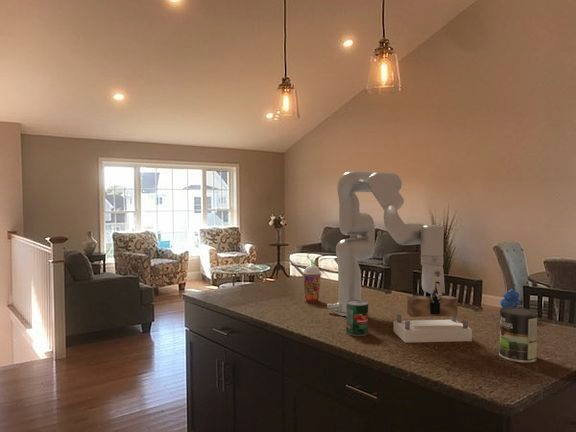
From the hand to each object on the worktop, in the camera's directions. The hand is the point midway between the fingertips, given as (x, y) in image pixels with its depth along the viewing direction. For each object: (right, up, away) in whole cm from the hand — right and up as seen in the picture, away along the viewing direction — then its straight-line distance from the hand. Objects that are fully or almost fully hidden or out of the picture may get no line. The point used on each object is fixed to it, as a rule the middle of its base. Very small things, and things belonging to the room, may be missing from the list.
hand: (431, 311), depth 161 cm
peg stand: (0, -9, 0) cm, 9 cm away
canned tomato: (-25, -9, +5) cm, 27 cm away
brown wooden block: (0, -1, 0) cm, 1 cm away
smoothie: (-39, -7, +58) cm, 70 cm away
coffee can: (+19, -10, -21) cm, 30 cm away
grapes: (+38, -8, +25) cm, 47 cm away
